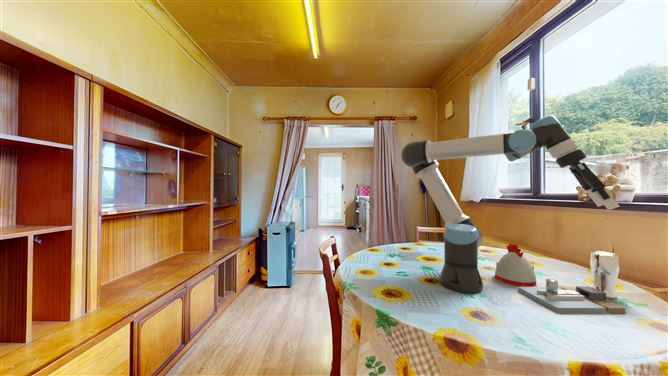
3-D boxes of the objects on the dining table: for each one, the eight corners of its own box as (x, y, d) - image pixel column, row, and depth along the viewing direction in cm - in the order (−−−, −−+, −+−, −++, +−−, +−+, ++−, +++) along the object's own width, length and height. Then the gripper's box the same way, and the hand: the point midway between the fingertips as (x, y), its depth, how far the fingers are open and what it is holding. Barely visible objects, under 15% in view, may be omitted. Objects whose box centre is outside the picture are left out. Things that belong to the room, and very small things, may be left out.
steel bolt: (551, 297, 81) (551, 281, 81) (543, 293, 84) (543, 278, 84) (581, 297, 81) (581, 282, 81) (572, 293, 84) (572, 278, 84)
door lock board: (557, 312, 75) (557, 299, 75) (518, 290, 91) (518, 280, 91) (625, 313, 75) (625, 300, 75) (574, 291, 91) (574, 280, 91)
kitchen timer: (518, 274, 109) (518, 241, 109) (545, 286, 95) (545, 248, 95) (487, 274, 109) (487, 241, 109) (511, 286, 95) (511, 248, 95)
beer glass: (625, 300, 84) (625, 256, 84) (601, 298, 85) (601, 255, 85) (607, 291, 91) (607, 251, 91) (585, 290, 92) (585, 250, 92)
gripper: (586, 143, 76) (636, 204, 70) (574, 151, 96) (612, 199, 90) (558, 156, 80) (603, 215, 74) (551, 161, 100) (586, 208, 94)
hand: (608, 206), depth 82 cm, fingers open, 13 cm apart
